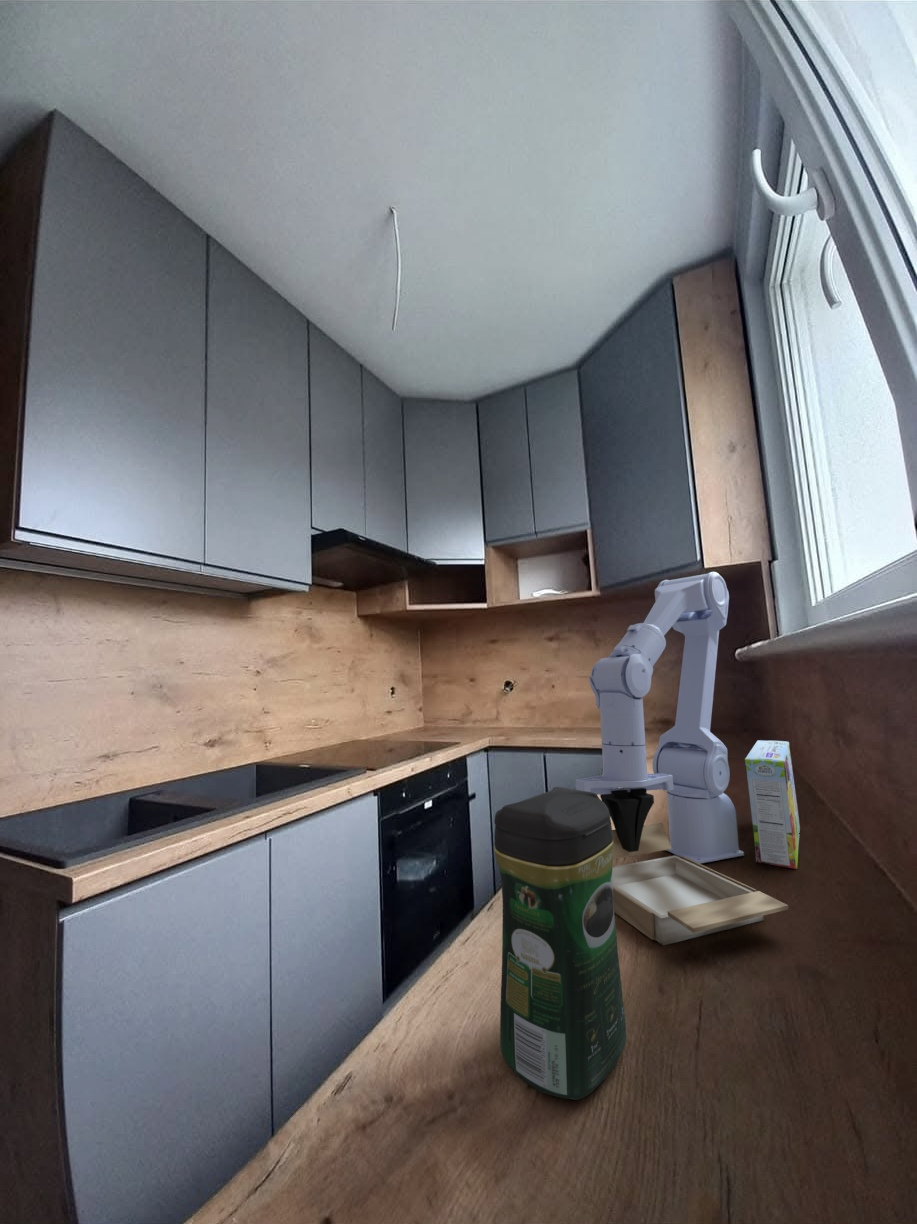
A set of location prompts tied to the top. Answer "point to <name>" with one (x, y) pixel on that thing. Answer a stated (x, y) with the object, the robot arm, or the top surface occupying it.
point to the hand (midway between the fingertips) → (629, 849)
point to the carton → (670, 895)
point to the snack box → (773, 803)
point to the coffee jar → (559, 942)
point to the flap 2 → (726, 911)
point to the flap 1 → (644, 841)
